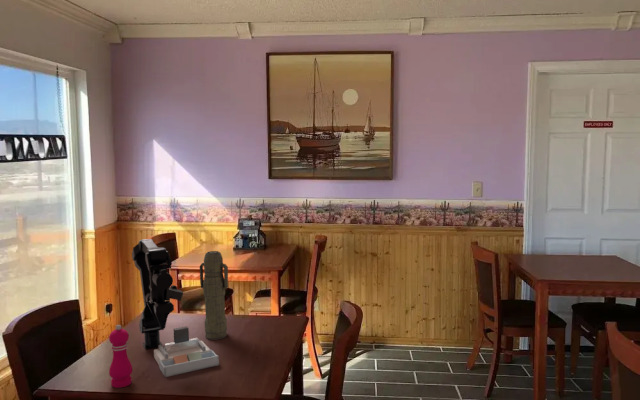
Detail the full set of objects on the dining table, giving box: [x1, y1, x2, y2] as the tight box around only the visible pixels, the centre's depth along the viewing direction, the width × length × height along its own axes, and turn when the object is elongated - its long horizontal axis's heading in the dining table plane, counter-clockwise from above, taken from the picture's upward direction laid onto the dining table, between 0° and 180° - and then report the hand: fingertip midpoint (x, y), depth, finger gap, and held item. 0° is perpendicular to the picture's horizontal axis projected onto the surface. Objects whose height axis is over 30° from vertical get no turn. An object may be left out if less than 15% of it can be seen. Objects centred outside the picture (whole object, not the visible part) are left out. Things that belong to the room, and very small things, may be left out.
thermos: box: [199, 250, 229, 341], centre depth 217 cm, size 9×12×35 cm
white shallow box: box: [153, 338, 211, 365], centre depth 196 cm, size 11×18×4 cm, turn 119°
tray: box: [158, 349, 220, 378], centre depth 188 cm, size 8×19×4 cm, turn 119°
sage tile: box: [187, 352, 202, 361], centre depth 190 cm, size 4×4×1 cm
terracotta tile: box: [173, 354, 188, 364], centre depth 188 cm, size 4×4×1 cm
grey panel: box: [164, 326, 199, 353], centre depth 196 cm, size 2×12×8 cm, turn 119°
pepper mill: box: [108, 324, 134, 389], centre depth 175 cm, size 7×7×20 cm
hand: (160, 324), depth 194 cm, fingers open, 9 cm apart
